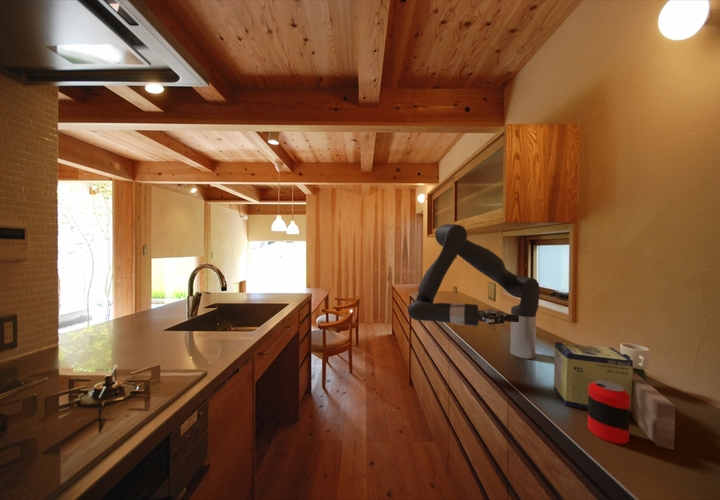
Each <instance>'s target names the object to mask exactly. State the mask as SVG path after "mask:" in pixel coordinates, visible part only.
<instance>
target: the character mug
mask: <svg viewBox="0 0 720 500" xmlns="http://www.w3.org/2000/svg"><path fill="white" fill-rule="evenodd" d="M619 346H620V347H619V352H620V353H621V354H623V355H624V356H626V357H628V358H629V359H631V360H632V361H633V371H634V372H635V373H636V374H638V375H639V376H640V377H641V378H642V379H644V380H645V381H646V382H647V375H646V371H645V370H649V369H650V364H651V349H650V348H648V347H646V346H643V345H639V344H636V343H635V344H634V343H625V342H624V343H620V345H619ZM647 383H648V382H647Z"/></svg>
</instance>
